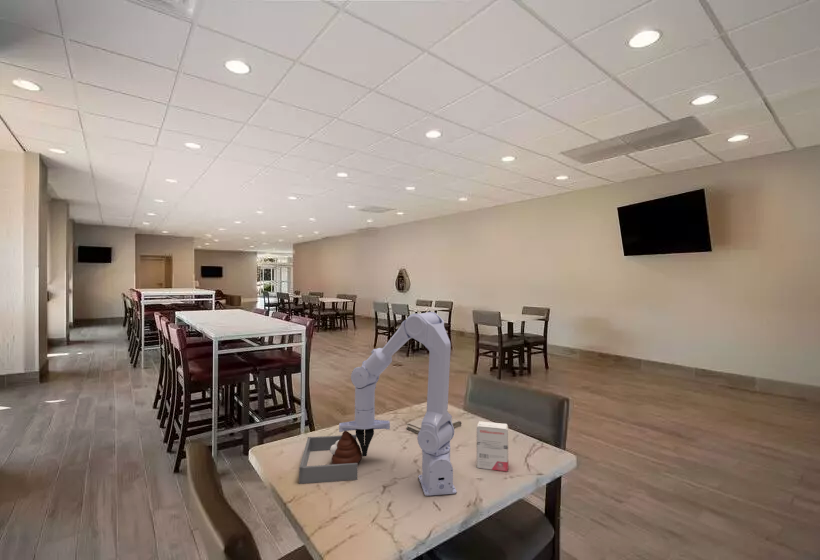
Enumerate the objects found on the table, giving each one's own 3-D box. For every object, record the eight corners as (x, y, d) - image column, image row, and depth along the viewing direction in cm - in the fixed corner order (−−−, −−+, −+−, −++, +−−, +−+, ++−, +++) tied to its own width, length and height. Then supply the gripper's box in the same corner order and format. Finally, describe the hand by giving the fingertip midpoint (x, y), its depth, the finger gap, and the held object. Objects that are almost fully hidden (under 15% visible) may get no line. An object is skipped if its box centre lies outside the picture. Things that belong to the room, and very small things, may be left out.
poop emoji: (353, 472, 103) (354, 438, 103) (324, 468, 105) (325, 435, 105) (366, 456, 112) (366, 424, 112) (339, 453, 114) (340, 422, 114)
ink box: (508, 464, 108) (508, 423, 108) (508, 472, 103) (508, 429, 103) (477, 460, 110) (478, 419, 110) (476, 468, 106) (476, 425, 106)
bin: (357, 479, 99) (357, 464, 99) (299, 483, 96) (299, 468, 97) (356, 447, 119) (356, 434, 119) (307, 450, 116) (307, 437, 116)
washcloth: (403, 430, 134) (403, 421, 134) (438, 418, 146) (438, 410, 146) (427, 440, 125) (427, 431, 125) (462, 427, 138) (462, 418, 138)
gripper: (388, 402, 114) (388, 447, 114) (339, 404, 112) (339, 450, 112) (390, 409, 107) (390, 457, 107) (339, 412, 105) (338, 461, 105)
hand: (364, 454), depth 109 cm, fingers closed
